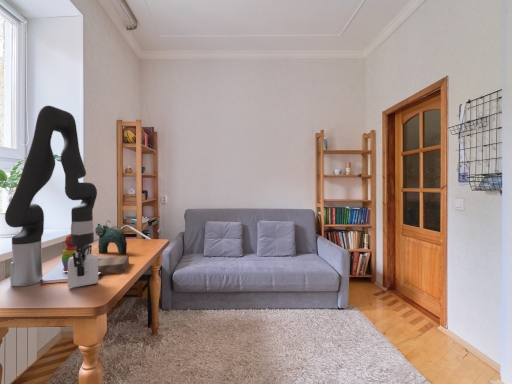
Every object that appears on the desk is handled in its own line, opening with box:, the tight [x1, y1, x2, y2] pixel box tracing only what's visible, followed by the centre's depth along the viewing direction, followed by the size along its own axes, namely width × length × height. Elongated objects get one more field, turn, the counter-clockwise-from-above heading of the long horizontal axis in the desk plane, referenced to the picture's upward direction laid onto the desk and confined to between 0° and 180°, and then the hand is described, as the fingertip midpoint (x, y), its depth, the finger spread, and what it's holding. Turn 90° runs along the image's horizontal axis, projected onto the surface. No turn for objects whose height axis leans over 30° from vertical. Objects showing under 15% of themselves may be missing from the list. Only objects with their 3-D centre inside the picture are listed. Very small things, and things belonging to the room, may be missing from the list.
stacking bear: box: [61, 233, 77, 271], centre depth 122 cm, size 11×10×18 cm
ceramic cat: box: [94, 220, 128, 256], centre depth 151 cm, size 20×6×20 cm, turn 73°
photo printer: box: [67, 253, 99, 289], centre depth 102 cm, size 10×4×12 cm, turn 123°
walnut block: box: [97, 255, 130, 275], centre depth 123 cm, size 14×14×4 cm
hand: (83, 273), depth 102 cm, fingers closed on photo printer, 5 cm apart
